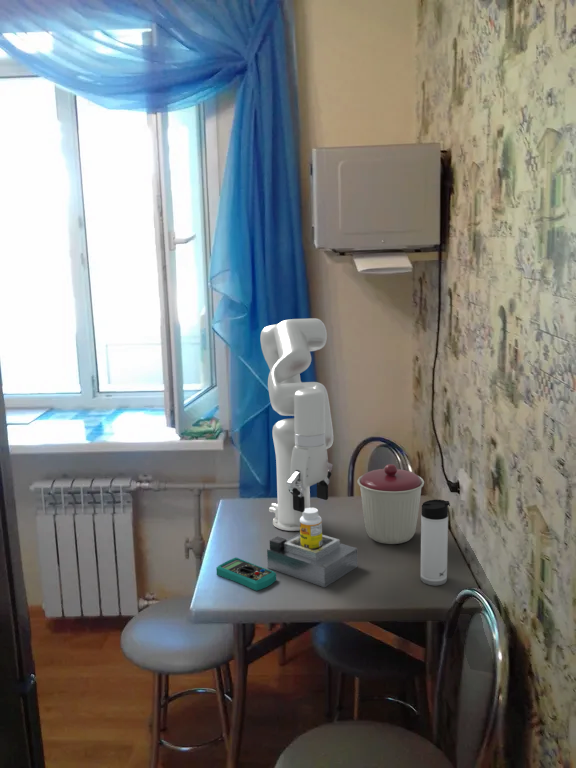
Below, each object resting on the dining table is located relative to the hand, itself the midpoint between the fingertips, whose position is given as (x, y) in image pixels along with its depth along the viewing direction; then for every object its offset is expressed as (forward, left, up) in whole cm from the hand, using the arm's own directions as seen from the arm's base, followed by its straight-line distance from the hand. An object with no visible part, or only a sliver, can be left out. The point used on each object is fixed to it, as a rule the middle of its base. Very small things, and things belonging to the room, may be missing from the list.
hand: (310, 504), depth 178 cm
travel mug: (+28, +12, -17) cm, 35 cm away
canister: (+6, +28, -17) cm, 33 cm away
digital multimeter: (-9, -15, -17) cm, 24 cm away
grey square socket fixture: (0, 0, -17) cm, 17 cm away
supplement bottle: (0, 0, -12) cm, 12 cm away
